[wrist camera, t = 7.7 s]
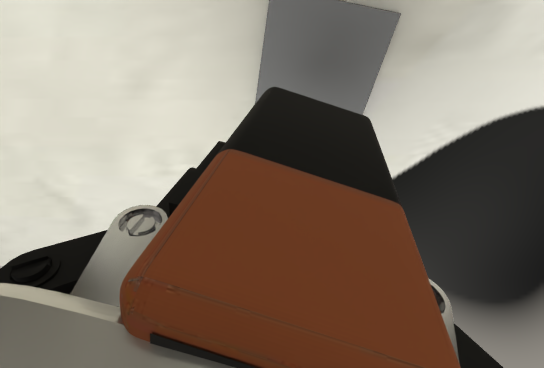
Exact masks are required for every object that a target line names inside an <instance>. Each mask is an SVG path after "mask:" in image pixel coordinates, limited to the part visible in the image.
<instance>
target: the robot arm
mask: <svg viewBox="0 0 544 368" xmlns="http://www.w3.org/2000/svg"><path fill="white" fill-rule="evenodd" d="M224 145H225V142H221V141H219V142H218V143H217V144H216V145H215V147H214V148H213V149H212V150H211V151H210V153H209V154H208V155H207V156H206V158H205V159H204V160H203V161H202V162H201V164H200V165H199V166H198V167H197V169H196V168H190V169H188V170H187V172H186V173H185V174H184V175H183V176H182V177H181V179H180V180H179V181H178V182H177V183H176V184H175V185H174V187H173V188H172V189H171V190H170V191H169V192H168V194H167V195H166V196H165V197H164V198H163V199H162V200H161V202H160V203H159V204H158V205H157V206H151V205H139V206H134V207H131V208H128V209H126V210H124V211H123V212H121V213H120V214H118V215H117V217H116V218H115V219H114V220H113V222H112V224H111V225H110V227H109V229H108V230H106V231H102V232H98V233H95V234H91V235H88V236H84V237H80V238H77V239H73V240H69V241H66V242H62V243H58V244H55V245H51V246H47V247H44V248H40V249H36V250H33V251H30V252H27V253H24V254H22V255H20V256H18V257H16V258H14V259H13V260H11V261H10V262H8V263H7V264H6V265H5V266H3V267H2V268H0V368H235V367H232V366H228V365H225V364H221V363H218V362H214V361H211V360H207V359H203V358H200V357H196V356H193V355H189V354H186V353H182V352H179V351H175V350H172V349H168V348H164V347H161V346H157V345H154V344H150V342H148V341H145V340H142V339H139V338H137V337H135V336H133V335H131V334H130V333H129V332H128V331H127V330H126V328H125V326H124V324H123V322H122V318H121V311H120V299H119V296H120V288H121V284H122V282H123V280H124V278H125V276H126V275H127V273H128V271H129V270H130V269H131V267H132V266H133V265H134V263H135V262H136V260H137V259H138V258H139V256H140V255H141V254H142V252H143V251H144V250H145V248H146V247H147V246H148V245H149V243H150V242H151V241H152V239H153V238H154V237H155V235H156V234H157V233H158V231H159V230H160V229H161V227H162V226H163V225H164V223H165V222H166V221H167V220H168V218H169V217H170V216H171V214H172V213H173V212H174V210H175V209H176V208H177V206H178V205H179V204H180V202H181V201H182V200H183V198H184V197H185V196H186V195H187V193H188V192H189V191H190V189H191V188H192V187H193V185H194V184H195V183H196V181H197V180H198V179H199V177H200V176H201V175H202V173H203V172H204V171H205V170H206V168H207V167H208V166H209V164H210V163H211V162H212V160H213V159H214V158H215V156H216V155H217V154H218V152H219V151H220V150H221V148H222V147H223V146H224ZM429 282H430V285H431V287H432V290H433V293H434V296H435V298H436V301H437V304H438V307H439V309H440V312H441V315H442V318H443V320H444V323H445V326H446V328H447V331H448V334H449V337H450V339H451V342H452V345H453V348H454V350H455V353H456V356H457V359H458V362H459V364H460V367H461V368H503V367H502V366H501V365H500V364H499V363H498V362H496V361H495V360H494V359H493V358H492V357H491V356H490V355H489V354H487V352H485V351H484V350H483V349H482V348H481V347H480V346H479V345H478V344H477V343H475V342H474V341H473V340H472V339H471V338H470V337H469V336H468V335H466V334H465V333H464V332H463V331H462V330H461V329H460V328H459V327H458V326H456V325H455V324H454V321H453V314H452V308H451V304H450V301H449V300H448V298H447V296H446V295H445V293H444V292H443V291H442V290H441V289H440V288H439V286H438V285H436V284H435V283H434V282H432V281H431V280H430V279H429Z"/></svg>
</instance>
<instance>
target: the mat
mask: <svg viewBox="0 0 544 368" xmlns="http://www.w3.org/2000/svg"><path fill="white" fill-rule="evenodd" d="M400 15H401V13H396V12H392V11H387V10H382V9H377V8H372V7H368V6H363V5H358V4H353V3H349V2H344V1H339V0H269V6H268V13H267V21H266V28H265V35H264V43H263V50H262V57H261V65H260V72H259V79H258V87H257V94H256V102H257V101H258V100H259V98H260V97H261V96H262V95H263V93H264V92H265V91H266V90H267V89H269V88H271V87H279V88H282V89H285V90H288V91H291V92H294V93H297V94H300V95H304V96H307V97H310V98H313V99H316V100H319V101H322V102H325V103H328V104H331V105H334V106H337V107H340V108H343V109H346V110H349V111H352V112H355V113H358V114H361V115H362V114H363V111H364V109H365V106H366V103H367V101H368V98H369V96H370V93H371V90H372V88H373V85H374V83H375V80H376V77H377V75H378V72H379V70H380V67H381V64H382V62H383V59H384V57H385V54H386V51H387V49H388V46H389V44H390V41H391V38H392V36H393V33H394V30H395V28H396V25H397V23H398V20H399V17H400ZM256 102H255V104H256Z"/></svg>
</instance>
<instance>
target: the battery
mask: <svg viewBox="0 0 544 368" xmlns="http://www.w3.org/2000/svg"><path fill="white" fill-rule="evenodd" d="M119 299H120V311H121V318H122V322H123V324H124V326H125V328H126V330H127V331H128V332H129V333H130V334H131V335H133V336H135V337H137V338H139V339H142V340H145V341H148V342H150V344H154V345H157V346H161V347H164V348H168V349H172V350H175V351H179V352H182V353H186V354H189V355H193V356H196V357H200V358H203V359H207V360H211V361H214V362H218V363H221V364H225V365H228V366H232V367H235V368H461V367H460V364H459V362H458V359H457V356H456V353H455V350H454V348H453V345H452V342H451V339H450V337H449V334H448V331H447V328H446V326H445V323H444V320H443V318H442V315H441V312H440V309H439V307H438V304H437V301H436V298H435V296H434V293H433V290H432V287H431V285H430V282H429V279H428V276H427V274H426V271H425V268H424V266H423V263H422V260H421V257H420V255H419V252H418V249H417V246H416V244H415V241H414V238H413V236H412V233H411V230H410V227H409V225H408V222H407V219H406V216H405V214H404V211H403V208H402V205H401V203H400V200H399V197H398V194H397V192H396V189H395V186H394V183H393V181H392V178H391V175H390V172H389V170H388V167H387V164H386V162H385V159H384V156H383V153H382V151H381V148H380V145H379V142H378V140H377V137H376V134H375V131H374V129H373V126H372V123H371V121H370V119H369V118H368V117H366V116H364V115H361V114H358V113H355V112H352V111H349V110H346V109H343V108H340V107H337V106H334V105H331V104H328V103H325V102H322V101H319V100H316V99H313V98H310V97H307V96H304V95H300V94H297V93H294V92H291V91H288V90H285V89H282V88H279V87H271V88H269V89H267V90H266V91H265V92H264V93H263V95H262V96H261V97H260V98H259V100H258V101H257V102H256V104H255V105H254V106H253V108H252V109H251V110H250V112H249V113H248V114H247V116H246V117H245V118H244V120H243V121H242V122H241V123H240V125H239V126H238V127H237V129H236V130H235V131H234V133H233V134H232V135H231V137H230V138H229V139H228V141H227V142H226V143H225V145H224V146H223V147H222V148H221V150H220V151H219V152H218V154H217V155H216V156H215V158H214V159H213V160H212V162H211V163H210V164H209V166H208V167H207V168H206V170H205V171H204V172H203V173H202V175H201V176H200V177H199V179H198V180H197V181H196V183H195V184H194V185H193V187H192V188H191V189H190V191H189V192H188V193H187V195H186V196H185V197H184V198H183V200H182V201H181V202H180V204H179V205H178V206H177V208H176V209H175V210H174V212H173V213H172V214H171V216H170V217H169V218H168V220H167V221H166V222H165V223H164V225H163V226H162V227H161V229H160V230H159V231H158V233H157V234H156V235H155V237H154V238H153V239H152V241H151V242H150V243H149V245H148V246H147V247H146V248H145V250H144V251H143V252H142V254H141V255H140V256H139V258H138V259H137V260H136V262H135V263H134V265H133V266H132V267H131V269H130V270H129V271H128V273H127V275H126V276H125V278H124V280H123V282H122V284H121V288H120V296H119Z"/></svg>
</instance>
